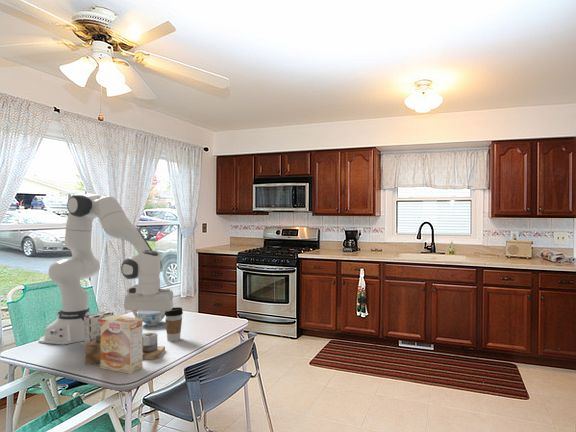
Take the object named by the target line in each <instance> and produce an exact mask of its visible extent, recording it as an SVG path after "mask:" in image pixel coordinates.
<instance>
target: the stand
mask: <svg viewBox="0 0 576 432" xmlns="http://www.w3.org/2000/svg"><path fill="white" fill-rule="evenodd" d="M84 365H85V366H87V365H89V366H91V365H93V366H96V365H97V366H101V335H97V336H96V339H94V340H92V341H90V342H89V343H87V344H85V347H84Z"/></svg>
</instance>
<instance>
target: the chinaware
mask: <svg viewBox="0 0 576 432" xmlns="http://www.w3.org/2000/svg"><path fill="white" fill-rule="evenodd" d="M137 314H138V316H140V318H141V319H142V323H144V324H145V325H146V326H148V327H153V326H154V327H155V326H157V325H159V323H160V322H161V321H157V317H158V316H160V315H161V314H160V311H142V310H138V311H137ZM165 317H166V315H165V313H164V314H163V316H162V320H163V319H164V318H165Z"/></svg>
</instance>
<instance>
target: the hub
mask: <svg viewBox="0 0 576 432" xmlns="http://www.w3.org/2000/svg"><path fill="white" fill-rule="evenodd" d="M147 333H148V334H147V336H151V335H152V333H153V332H150V333H149V332H147ZM165 351H166V346H164V345H158V342H157V343H156V344H154V345H150V346H143V345H142V360H158V359H159V358H160V356H162V354H163V353H164V352H165Z"/></svg>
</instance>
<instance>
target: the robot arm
mask: <svg viewBox="0 0 576 432" xmlns="http://www.w3.org/2000/svg"><path fill="white" fill-rule="evenodd" d="M66 207H67V210H68V216H67V219H66V223H65V238H64V246H65V247H66V248H67V249H68V250H70V252H71V258H64V259H60V260H57V261H55V262H53V263H51V264H50V266H49V268H48V277H49V279H50V280H51V281H52V282H53V283H55V284H56V285H57V286H58V288H59V290H60V293H61V302H62V303H61V304H62V306H61V307H62V309H60V310H59V311H58V312H57V313H56V316H58V318H56V320H55V319H54V321H52V322H51V323H50V324H49V325H47V326H46V328H45V329H44V330H45V331H44V335H43V336H41V337H39V339H38V343H41V344H42V343H43V344H52V345H53V344H54V345H55V344H56V345H63V346H64V345H68V344H71V343H73V344H74V343H78V342H82V341H84V316H87V315H90V307H89V291H88V290H87V289H86V288H83V287H82V284H81V280H85V279H89V278H92V277H94V276H95V275H97V274H98V273H99V272H100V269H101V265H100V261H99V259H98V258H96V257H95V255H94V253H93V250H92V231H93V221H94V220H95V219H96V218H98V220H99V223H100V225H101V228H102V230H103V231H104V232H105V234H107V235H108V236H109V237H111V238H114V239H115V238H116V239H119V240H122V241H125V242H128V243H130V244H131V245H132V246H133V247H134V249H135V250H136V252H137V254H136V255H134V256H130V257H127V258H125V259H124V260H123V261H122V263H121V267H120V268H121V269H120V270H121V274H122V276H123V277H124V278H126V279H127V280H136V279H137V280H138V284H134V285H131V286H129V287H128V288H126V291H125V292H126V293H127V294H125V296H124V301H123V307H124V308H123V309H125V310H126V311H132V314H133V316H134V318H140V316H139V315H138V310H142V311H160V314H161V315H160V316H158V317H157V321H160V322H162V321H163V319H162V316H163V314H164V313H165V311H170V310H172V308H174V292H173V291H172V290H171V289H168V288H167V289H166V288H161V279H160V275H161V270H162V266H163V264H162V260H161V257H160V253H158V251H155V250H153V249H152V247H151V245H150V244H149V243H148V241H147V240H146V238H145V235H143V234H142V232H141V231H140V230H139V228H138V227H136V226H135V225H134V224H133V223H132V222H131V221H130V219H129V218H128V216H127V215H126V213H125V211H124V209H123V207H122V206H121V204H120V203H119V201H118V200H117V198H115V197H114V196H111V195H106V194H103V195H102V194H98V193H86V194H84V193H75V194H73V195H71V196H70V197H69V198H68V200H67V203H66Z"/></svg>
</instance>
